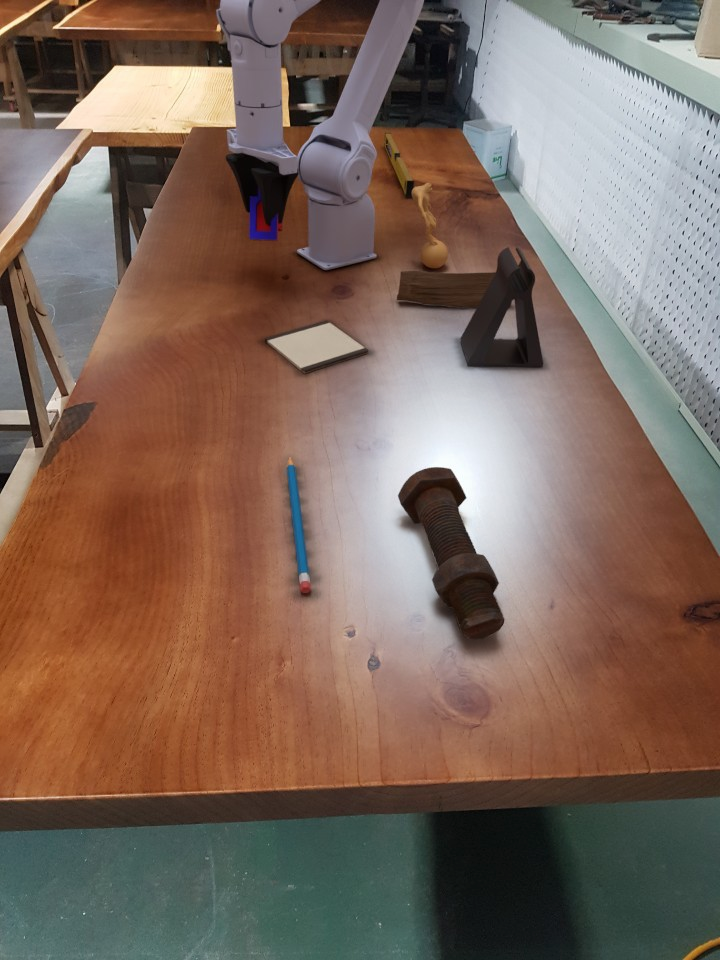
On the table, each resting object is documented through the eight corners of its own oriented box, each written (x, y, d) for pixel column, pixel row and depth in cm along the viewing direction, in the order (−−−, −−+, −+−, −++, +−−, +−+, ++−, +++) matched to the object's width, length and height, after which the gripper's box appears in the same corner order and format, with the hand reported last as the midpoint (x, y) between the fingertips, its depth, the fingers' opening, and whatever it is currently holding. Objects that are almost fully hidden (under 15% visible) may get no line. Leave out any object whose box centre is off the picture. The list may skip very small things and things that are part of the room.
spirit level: (412, 197, 130) (414, 180, 128) (405, 197, 130) (406, 180, 128) (390, 147, 156) (391, 132, 154) (384, 147, 155) (384, 132, 154)
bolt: (466, 662, 53) (416, 521, 64) (528, 633, 52) (467, 496, 63) (437, 624, 49) (389, 482, 60) (503, 593, 48) (442, 454, 59)
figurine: (446, 279, 102) (456, 193, 95) (404, 276, 102) (411, 191, 95) (445, 257, 109) (455, 175, 101) (406, 254, 109) (413, 172, 101)
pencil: (300, 593, 55) (300, 587, 55) (285, 459, 68) (285, 453, 68) (311, 592, 55) (311, 586, 55) (293, 459, 68) (293, 453, 68)
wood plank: (508, 302, 97) (514, 267, 94) (511, 309, 96) (518, 273, 92) (396, 301, 96) (399, 265, 93) (397, 308, 95) (400, 272, 91)
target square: (327, 323, 90) (326, 320, 90) (368, 353, 85) (368, 350, 85) (264, 341, 86) (264, 337, 86) (304, 373, 81) (304, 370, 80)
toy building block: (281, 244, 96) (283, 181, 94) (276, 240, 92) (278, 174, 90) (255, 243, 96) (256, 180, 94) (249, 238, 92) (250, 173, 90)
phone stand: (531, 342, 88) (551, 248, 81) (542, 367, 84) (565, 269, 76) (459, 341, 88) (473, 246, 80) (466, 366, 83) (481, 267, 76)
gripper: (201, 93, 88) (211, 205, 97) (257, 119, 79) (263, 240, 88) (252, 89, 91) (257, 197, 100) (311, 113, 82) (312, 230, 91)
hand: (263, 217), depth 94 cm, fingers closed on toy building block, 5 cm apart
